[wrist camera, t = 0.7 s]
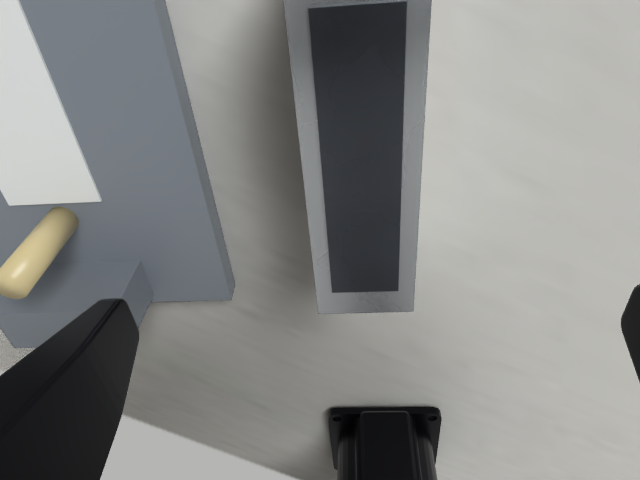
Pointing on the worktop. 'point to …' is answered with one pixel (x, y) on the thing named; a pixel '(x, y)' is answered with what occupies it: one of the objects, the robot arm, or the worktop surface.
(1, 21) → the drive dock
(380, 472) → the robot arm
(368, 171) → the drive
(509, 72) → the worktop surface
